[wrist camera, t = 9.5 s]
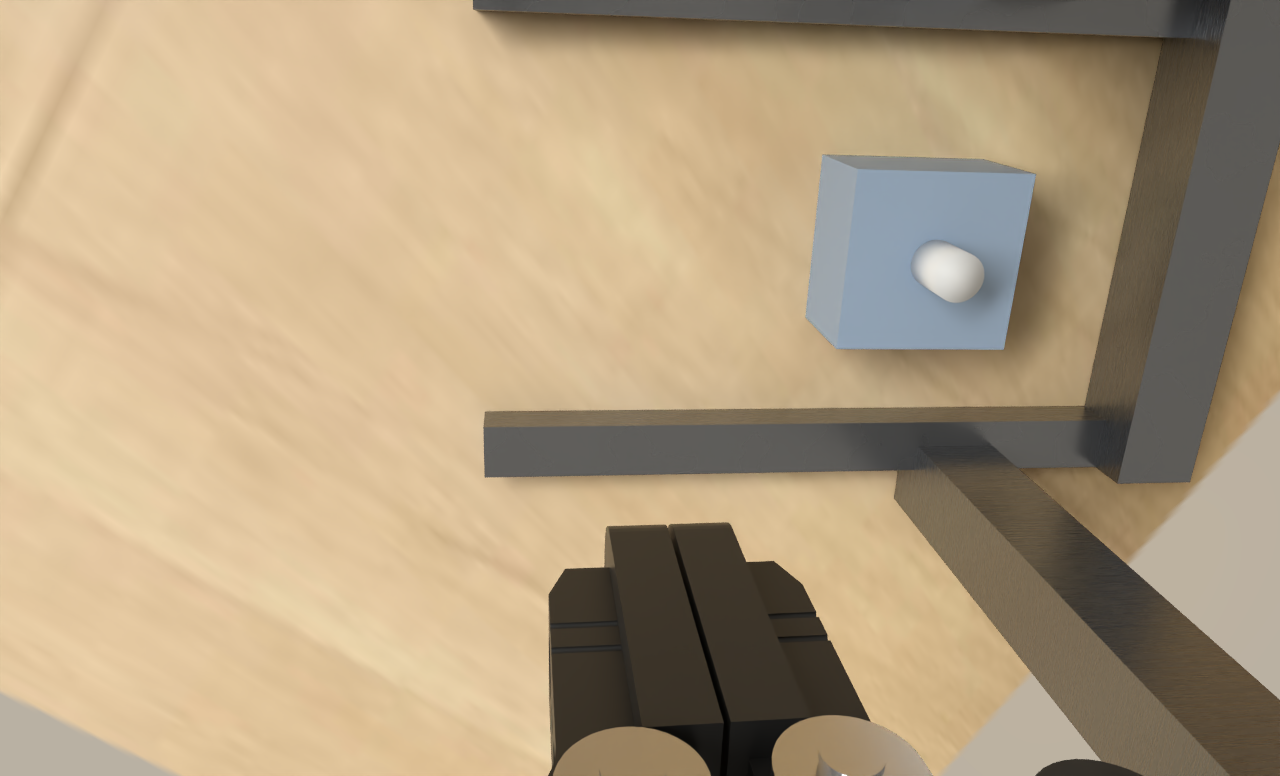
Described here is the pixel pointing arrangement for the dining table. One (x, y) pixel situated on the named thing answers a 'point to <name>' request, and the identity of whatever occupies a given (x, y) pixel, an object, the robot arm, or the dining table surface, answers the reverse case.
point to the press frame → (1037, 436)
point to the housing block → (916, 251)
